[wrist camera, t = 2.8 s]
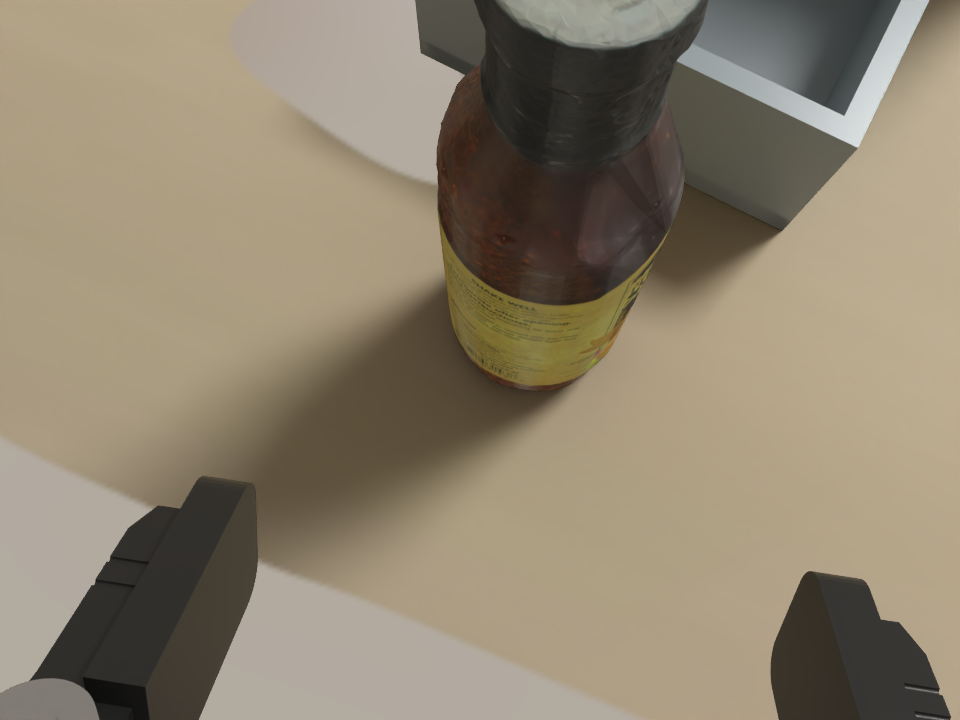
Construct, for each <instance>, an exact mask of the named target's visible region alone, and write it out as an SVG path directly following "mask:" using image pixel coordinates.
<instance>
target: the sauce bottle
mask: <svg viewBox="0 0 960 720" xmlns="http://www.w3.org/2000/svg"><path fill="white" fill-rule="evenodd" d="M708 1H709V0H474V2H475V5H476V8H477V10H478V15H479V17H480V19H481V21H482V23H483V25H484V28H485V30H486V31H485V45H486V47H485V55H484V57H483V59H482V61H481V63H480V64H479V65H477V66H476V67H475V68H474V69H473V70H472V71H471V72H469V73H468V74H467V75H465V76H464V77H463V79H462V80H461V81H460V82H459V83H458V84H457V86H456V89H455V92H454V94H453V96H452V98H451V102H450V103H449V106H448V109H447V111H446V113H445V116H444V119H443V121H442V123H441V130H440V135H439V139H438V146H437V164H436V165H437V170H438V185H439V186H438V194H437V198H438V217H439V226H440V235H441V243H442V252H443V260H444V269H445V276H446V285H447V292H448V301H449V308H450V313H451V320H452V324H453V327H454V330H455V333H456V335H457V338H458V340H459V342H460V343H461V346H462V348H463V349H464V351H465V352H466V353H467V355H468V357H469V359H470V360H472V361H473V362H474V363H475V364H476V365H477V366H478V367H479V368H480V369H481V370H482V372H483V373H485V374H486V375H487V376H488V377H489V378H490V379H492V380H494V381H496V382H497V383H499V384H501V385H506V386H509V387H512V388H520V389H524V390H533V391H542V390H554V389H557V388H559V387H563V386H566V385H569V384H570V383H572V382H573V381H574V380H576V379H578V378H579V377H580V376H582V375H583V374H584V373H585V372H587V371H588V370H590V369H591V368H592V367H593V366H595V365H596V364H597V363H598V362H599V361H600V360H601V359H602V358H603V357H604V356H605V355H606V354H607V353H608V351H609V350H610V348H611V347H612V345H613V343H614V341H615V339H616V337H617V335H618V333H619V331H620V329H621V327H622V325H623V323H624V321H625V319H626V317H627V315H628V313H629V311H630V309H631V307H632V305H633V304H634V301H635V300H636V297H637V295H638V293H639V291H640V289H641V287H642V285H643V283H644V281H645V279H646V278H647V276H648V273H649V271H650V269H651V267H652V265H653V262H654V260H655V258H656V256H657V255H658V253H659V251H660V250H661V248H662V245H663V243H664V241H665V238H666V236H667V234H668V232H669V230H670V228H671V225H672V223H673V221H674V219H675V216H676V214H677V211H678V208H679V205H680V201H681V198H682V194H683V186H684V178H685V172H684V155H683V151H682V147H681V144H680V141H679V137H678V134H677V130H676V127H675V123H674V120H673V116H672V113H671V109H670V106H669V102H668V98H667V97H668V84H669V81H670V78H671V75H672V72H673V70H674V68H675V66H676V64H677V60H678V58H679V57H680V56H681V55H682V54H683V53H684V52H685V51H687V50H688V49H689V47H690V46H691V44H692V43H693V41H694V39H695V38H696V36H697V34H698V32H699V30H700V28H701V26H702V24H703V21H704V17H705V13H706V9H707V5H708Z"/></svg>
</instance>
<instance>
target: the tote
mask: <svg viewBox="0 0 960 720" xmlns="http://www.w3.org/2000/svg"><path fill="white" fill-rule="evenodd" d="M415 1H416V10H417V19H418V30H419V39H420V49H421V53H422V54H424V55H426V56H428V57H430V58H432V59H434V60H436V61H438V62H440V63H442V64H444V65H446V66H448V67H450V68H452V69H454V70H456V71H459V72H461V73H463V74H465V75H467V74H468V73H469V72H471V71H472V70H473V69H474V68H475V67H476V66H477V65H479V64H480V63H481V61H482V59H483V57H484V55H485V47H486V45H485V31H486V30H485V28H484V25H483V23H482V21H481V19H480V17H479V15H478V10H477V8H476V5H475V2H474V0H415ZM928 2H929V0H709V1H708V5H707V9H706V13H705V17H704V21H703V24H702V26H701V28H700V30H699V32H698V34H697V36H696V38H695V39H694V41H693V43H692V44H691V46H690V47H689V49H688V50H687V51H685V52H684V53H683V54H682V55H681V56H680V57H679V58H678V60H677V64H676V66H675V68H674V70H673V72H672V75H671V78H670V81H669V84H668V97H667V98H668V102H669V106H670V109H671V113H672V116H673V120H674V123H675V127H676V130H677V134H678V137H679V141H680V144H681V147H682V151H683V155H684V172H685V178H684V183H686V184H688V185H690V186H692V187H694V188H696V189H698V190H700V191H702V192H704V193H706V194H708V195H710V196H712V197H714V198H716V199H718V200H720V201H722V202H724V203H726V204H728V205H730V206H732V207H734V208H737V209H739V210H741V211H743V212H745V213H747V214H749V215H751V216H753V217H755V218H757V219H759V220H761V221H763V222H765V223H767V224H769V225H771V226H773V227H775V228H777V229H779V230H781V231H783V229H784V228H785V227H786V226H787V225H788V224H789V223H790V222H791V221H792V220H793V218H794V217H795V216H796V215H797V214H798V213H799V212H800V211H801V210H802V209H803V208H804V206H805V205H806V204H807V203H808V202H809V201H810V200H811V199H812V198H813V197H814V195H815V194H816V193H817V192H818V191H819V190H820V189H821V188H822V187H823V186H824V185H825V183H826V182H827V181H828V180H829V179H830V178H831V177H832V176H833V175H834V174H835V172H836V171H837V170H838V169H839V168H840V167H841V166H842V165H843V164H844V163H845V162H846V160H847V159H848V158H849V157H850V156H851V155H852V154H853V153H854V152H855V151H856V149H857V148H858V147H859V145H860V143H861V141H862V138H863V136H864V134H865V132H866V130H867V128H868V126H869V124H870V122H871V120H872V118H873V116H874V114H875V112H876V110H877V107H878V105H879V103H880V101H881V99H882V97H883V95H884V93H885V91H886V89H887V87H888V85H889V83H890V81H891V79H892V76H893V74H894V72H895V70H896V68H897V66H898V64H899V62H900V60H901V58H902V56H903V54H904V52H905V50H906V48H907V45H908V43H909V41H910V39H911V37H912V35H913V33H914V31H915V29H916V27H917V25H918V23H919V21H920V19H921V17H922V14H923V12H924V10H925V8H926V6H927V4H928Z"/></svg>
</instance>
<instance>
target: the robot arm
mask: <svg viewBox="0 0 960 720" xmlns="http://www.w3.org/2000/svg"><path fill="white" fill-rule="evenodd" d="M257 563H258V549H257V515H256V491H255V487H254V485H253V484H252V483H246V482H240V481H233V480H227V479H220V478H214V477H207V476H202V477H200V478H199V479H198V480H197V482H196V483H195V485H194V486H193V488H192V490H191V492H190V493H189V495H188V497H187V498H186V500H185V502H184V504H183V505H182V507H181V509H177V508H171V507H164V506H157V507H156V508H154V509H153V510H152V511H150V512H149V513H148V514H146V515H145V516H144V517H142V518H141V519H140V520H139V521H137V522H136V523H135V524H133V525H132V526H130V527H129V528H128V530H127V531H126V532H125V534H124V536H123V537H122V539H121V540H120V542H119V544H118V545H117V547H116V548H115V550H114V551H113V553H112V554H111V556H110V561H109V562H106V564H105V565H104V567H103V569H102V570H101V572H100V573H99V575H98V576H97V578H96V582H95V585H92V586H91V587H90V589H89V590H88V592H87V594H86V595H85V597H84V598H83V600H82V601H81V603H80V605H79V606H78V608H77V609H76V611H75V612H74V614H73V616H72V617H71V619H70V620H69V622H68V623H67V625H66V626H65V628H64V630H63V631H62V633H61V634H60V636H59V638H58V639H57V641H56V642H55V644H54V645H53V647H52V648H51V650H50V651H49V653H48V655H47V656H46V658H45V659H44V661H43V663H42V664H41V666H40V667H39V669H38V670H37V672H36V673H35V674H34V676H33V677H32V678H31V679H30V681H28V682H25V683H21V684H19V685H16V686H13V687H11V688H9V689H7V690H5V691H4V692H2V693H0V720H199V717H200V715H201V713H202V710H203V708H204V706H205V703H206V701H207V699H208V696H209V694H210V691H211V689H212V687H213V685H214V682H215V680H216V678H217V675H218V673H219V671H220V668H221V666H222V664H223V661H224V659H225V656H226V654H227V652H228V649H229V647H230V645H231V642H232V640H233V638H234V636H235V633H236V631H237V628H238V626H239V624H240V621H241V619H242V617H243V614H244V612H245V610H246V607H247V605H248V603H249V600H250V597H251V594H252V591H253V587H254V583H255V578H256V572H257ZM771 684H772V690H773V694H774V699H775V704H776V708H777V713H778V718H779V720H950V718H951V716H950V713H949V711H948V708H947V706H946V703H945V701H944V698H943V696H942V695H939V689H940V688H939V686H938V683H937V681H936V678H935V676H934V673H933V671H932V668H931V666H930V663H929V661H928V658H927V656H926V654H925V653H924V652H923V650H922V649H921V648H920V647H919V646H918V645H917V643H916V642H915V641H914V640H913V639H912V637H911V636H910V635H909V634H908V633H907V631H906V630H905V629H904V628H903V627H902V625H901V624H900V623H899V622H893V621H886V620H881V619H880V616H879V613H878V611H877V608H876V605H875V602H874V600H873V597H872V594H871V591H870V589H869V587H868V585H867V583H866V582H865V581H864V580H862V579H857V578H851V577H844V576H838V575H831V574H825V573H818V572H812V571H809V572H807V573H806V574H805V575H804V576H803V577H802V579H801V581H800V584H799V586H798V588H797V591H796V593H795V595H794V598H793V600H792V602H791V605H790V607H789V609H788V612H787V614H786V617H785V619H784V621H783V624H782V626H781V628H780V631H779V633H778V635H777V638H776V640H775V643H774V647H773V651H772V657H771Z"/></svg>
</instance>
